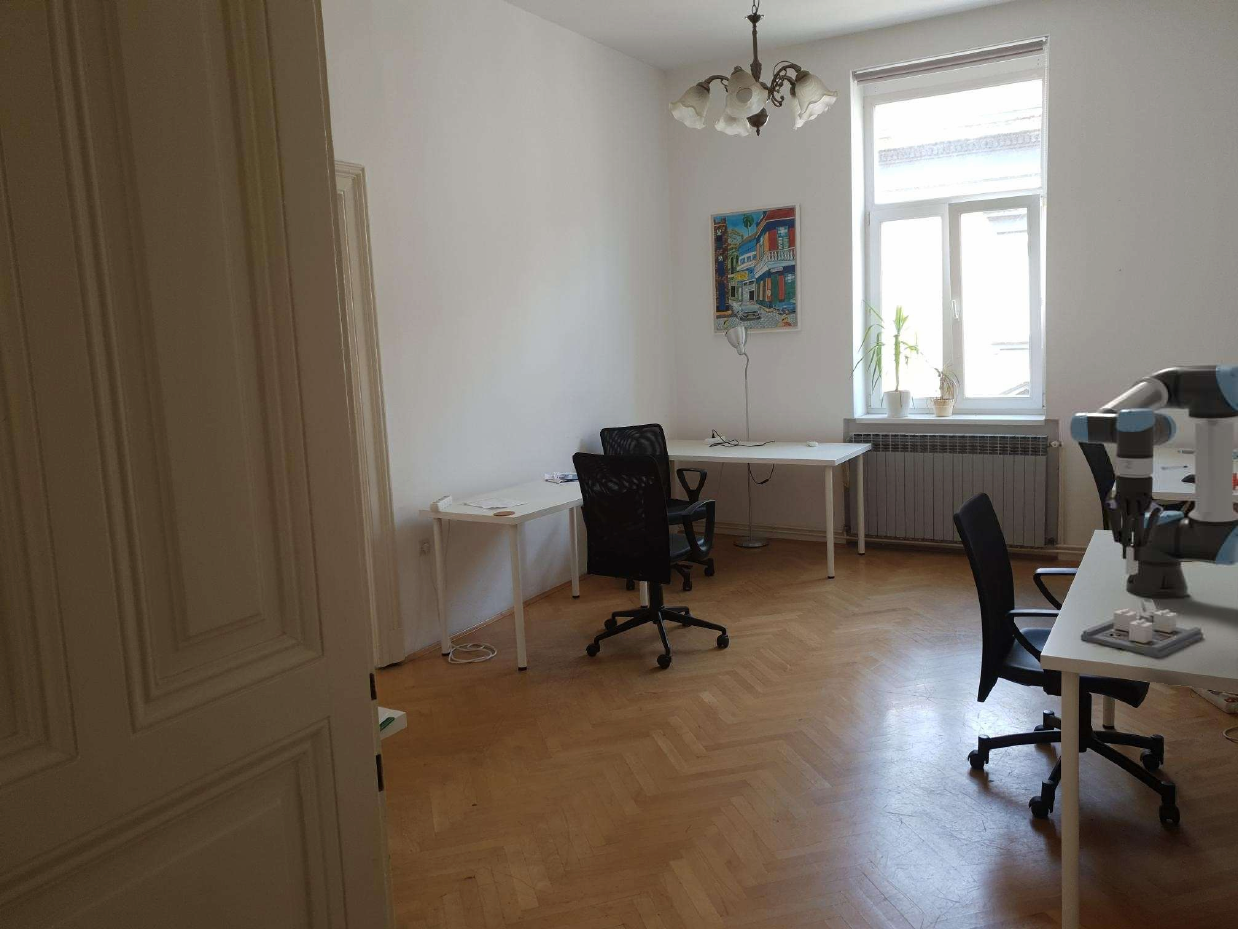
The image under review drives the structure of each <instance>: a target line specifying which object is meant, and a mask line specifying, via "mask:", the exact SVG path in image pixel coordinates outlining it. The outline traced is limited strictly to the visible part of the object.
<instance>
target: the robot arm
mask: <svg viewBox="0 0 1238 929" xmlns="http://www.w3.org/2000/svg"><path fill="white" fill-rule="evenodd" d="M1161 409H1162V410H1163V409H1164V410H1165V409H1171V410H1172V409H1173V410H1174V409H1177V410H1178V409H1179V410H1188V418H1189V420H1192V421H1193V422H1194V425H1195V426H1194V432H1195V433H1194V440H1195V441H1194V442H1195V443H1194V449H1195V450H1194V496H1195V497H1194V508H1193V510H1191V511H1190V512H1189V513H1188V517H1185V515H1184V513H1183V511H1177V510H1166V508H1165V506H1162V505H1161V506H1160V505H1159V504H1157V503H1156V502H1155V499H1154V497H1153V486H1154V483H1153V482H1154V481H1153V480H1154V479H1153V477H1152V474H1153V473H1154V448H1155V446H1161V445H1164V444H1166V443H1168V442H1170V441H1171V440H1172V439H1173V438H1174V437H1175V435H1176V433H1177V424H1176V421H1175V420H1174V418H1172V416H1170V415H1168V414H1166V413H1162V412H1157V411H1159V410H1161ZM1237 420H1238V365H1225V364H1212V365H1211V364H1210V365H1209V364H1208V365H1174V366H1170V367H1166V368H1163V369H1159V370H1157V371H1154V372H1152V373H1149V374H1147V375H1145V376H1143V377H1141V378H1139V379H1138V380H1136V381H1134V383H1132V385H1131V387H1130V389H1129V390H1127V391H1125V392H1124V393H1123V394H1121V395H1119V396H1118V397H1116V398H1114V399H1113V400H1111V401H1109V402H1108V403H1107V404H1105V405H1103V406H1102V407H1100V408H1098V409H1097V410H1095V411H1094V412H1078V413H1075V414H1074V415H1073V416H1072V418H1071V420H1070V424H1069V427H1070V428H1069V431H1070V436H1071V438H1072V440H1074V441H1075V442H1077V443H1087V444H1106V445H1107V444H1113V445H1116V454H1115V455H1116V460H1115V464H1116V466H1115V472H1116V474H1117V475H1116V476H1115V494H1114V496H1113V499H1111V500H1109V501H1106V502H1104V503H1103V507H1104V508H1105V509H1106V510H1105V511H1106V512H1107V515H1108V519H1109V524H1110V528H1111V531H1112V532H1111V533H1112V537H1113V541H1114V543H1118V544H1120V545H1121V546H1122V559H1123V560H1125V575H1128V577H1127V579H1126V582H1125V584H1126V586H1125V590H1126V591H1127V592H1129V593H1131V594H1134V595H1137V596H1142V597H1149V598H1156V599H1179V598H1184V597H1187V596H1188V594H1189V593H1188V592H1189V586H1188V584H1187V580H1186V578H1185V574H1184V572H1183V569H1182V560H1185V561H1190V562H1197V563H1199V562H1200V563H1207V564H1212V565H1214V566H1215V565H1216V566H1219V565H1221V566H1234V565H1236V564H1238V512H1237V511H1235V510H1234V438H1235V436H1234V435H1235V434H1234V430H1235V429H1234V428H1235V427H1234V425H1235V424H1234V423H1235V422H1236V421H1237ZM1118 508H1119V510H1120V511H1121V516H1120V515H1119V514H1120V513H1119V510H1118ZM1148 510H1149V512H1148ZM1120 517H1121V519H1122V520H1121V519H1120Z"/></svg>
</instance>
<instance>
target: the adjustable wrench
mask: <svg viewBox="0 0 1238 929" xmlns="http://www.w3.org/2000/svg"><path fill="white" fill-rule="evenodd" d="M1141 606H1142V608H1143V610H1144V612H1140V613H1139V618H1138V619H1139V620H1142V619H1144V620H1146V622H1149V623H1152V621H1153V622H1154V613H1156V612H1158V611H1157V608H1156V606H1155V603H1154V600H1153V599H1152V598H1146V597H1145V598H1143V597H1142V598H1141Z"/></svg>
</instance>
